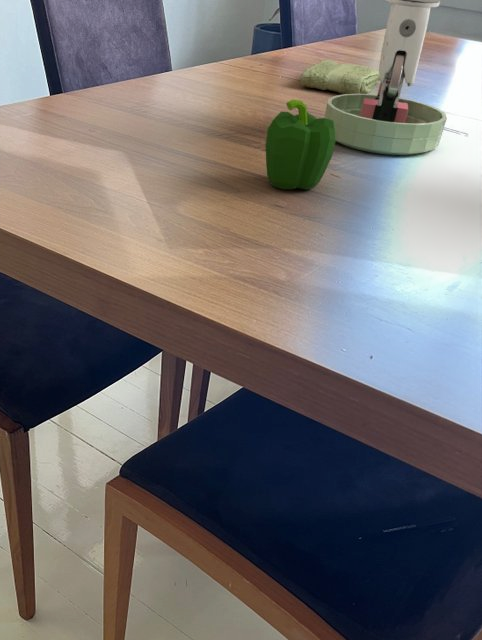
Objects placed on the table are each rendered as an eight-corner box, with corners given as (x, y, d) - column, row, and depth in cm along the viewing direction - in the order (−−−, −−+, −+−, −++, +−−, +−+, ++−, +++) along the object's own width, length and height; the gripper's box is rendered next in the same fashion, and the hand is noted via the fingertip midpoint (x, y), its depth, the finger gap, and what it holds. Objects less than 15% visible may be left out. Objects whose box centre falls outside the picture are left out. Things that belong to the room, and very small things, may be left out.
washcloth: (384, 83, 144) (388, 64, 142) (362, 99, 131) (367, 80, 129) (319, 72, 148) (323, 54, 146) (293, 87, 135) (296, 68, 133)
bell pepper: (311, 174, 95) (327, 91, 89) (333, 196, 89) (353, 109, 83) (249, 173, 94) (262, 89, 88) (267, 196, 88) (283, 107, 81)
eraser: (399, 130, 113) (407, 103, 111) (400, 137, 110) (408, 109, 108) (357, 125, 114) (364, 97, 112) (357, 131, 111) (363, 103, 109)
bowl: (433, 132, 116) (441, 102, 113) (440, 164, 103) (451, 130, 100) (324, 118, 119) (330, 88, 116) (318, 147, 105) (324, 114, 103)
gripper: (447, 1, 94) (406, 148, 105) (437, -13, 107) (402, 120, 118) (387, -5, 95) (353, 141, 106) (385, -18, 108) (355, 114, 119)
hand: (379, 129), depth 112 cm, fingers closed on eraser, 4 cm apart
